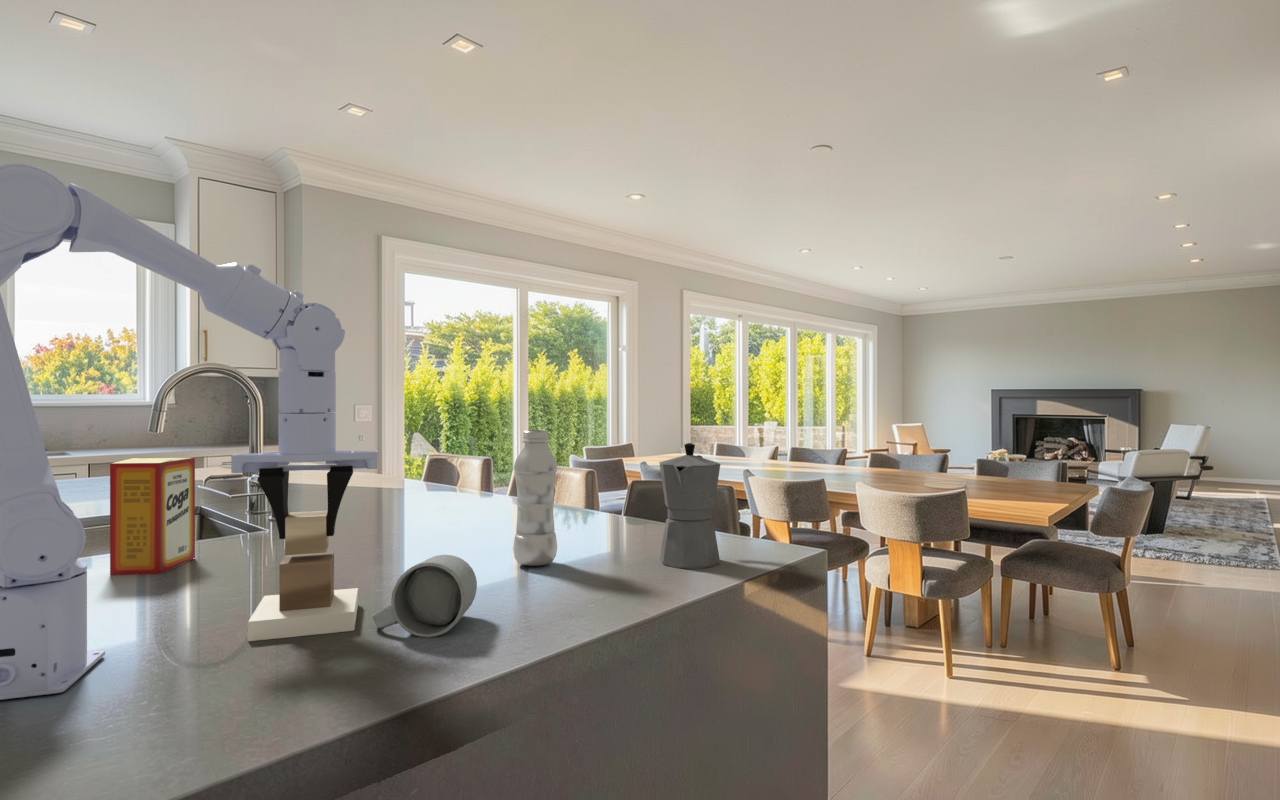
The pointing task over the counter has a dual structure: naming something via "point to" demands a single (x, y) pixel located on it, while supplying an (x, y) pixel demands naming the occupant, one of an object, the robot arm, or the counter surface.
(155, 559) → the baking soda box
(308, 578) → the walnut block
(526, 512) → the plastic bottle
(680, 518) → the coffeepot
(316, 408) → the robot arm
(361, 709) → the counter surface
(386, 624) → the ceramic mug
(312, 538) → the maple block
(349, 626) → the base
